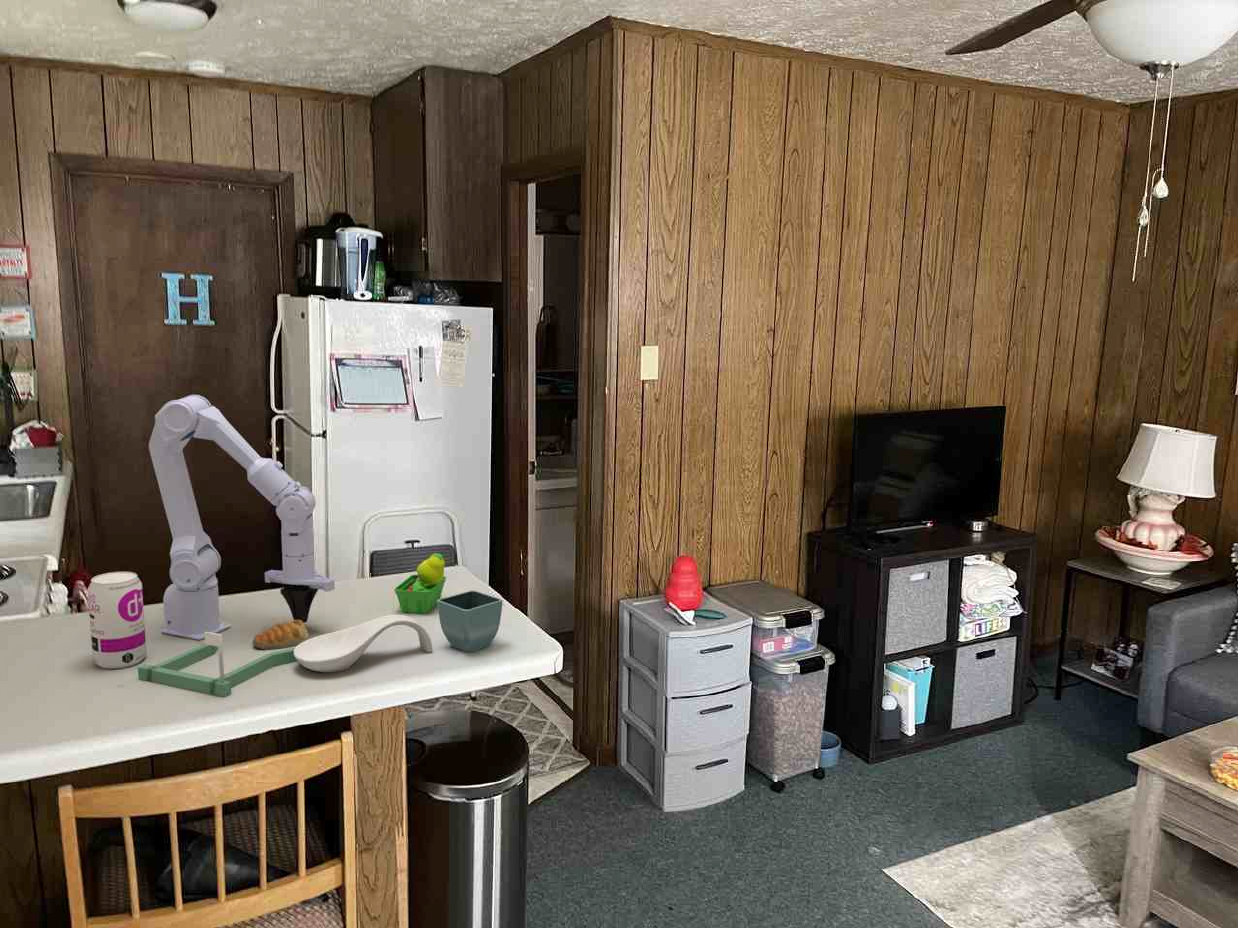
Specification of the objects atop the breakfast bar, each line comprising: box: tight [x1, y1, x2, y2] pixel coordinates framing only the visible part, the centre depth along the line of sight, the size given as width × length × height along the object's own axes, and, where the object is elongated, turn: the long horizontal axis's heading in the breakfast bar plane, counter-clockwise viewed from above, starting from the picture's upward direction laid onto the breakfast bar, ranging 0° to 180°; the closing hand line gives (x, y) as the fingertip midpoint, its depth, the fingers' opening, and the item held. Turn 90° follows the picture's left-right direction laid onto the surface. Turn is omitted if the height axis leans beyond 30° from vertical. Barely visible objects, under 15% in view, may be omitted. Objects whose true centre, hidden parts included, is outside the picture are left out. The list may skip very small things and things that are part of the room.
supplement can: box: [87, 571, 148, 670], centre depth 168 cm, size 8×8×15 cm
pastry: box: [252, 619, 310, 650], centre depth 179 cm, size 9×7×4 cm
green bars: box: [137, 632, 298, 698], centre depth 166 cm, size 19×18×10 cm
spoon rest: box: [294, 614, 433, 673], centre depth 172 cm, size 24×12×7 cm, turn 121°
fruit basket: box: [394, 553, 447, 614], centre depth 201 cm, size 11×9×11 cm
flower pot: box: [436, 589, 504, 653], centre depth 179 cm, size 9×9×9 cm
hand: (300, 622), depth 186 cm, fingers closed
